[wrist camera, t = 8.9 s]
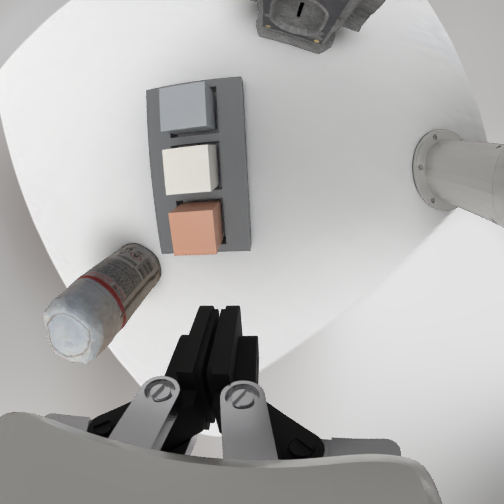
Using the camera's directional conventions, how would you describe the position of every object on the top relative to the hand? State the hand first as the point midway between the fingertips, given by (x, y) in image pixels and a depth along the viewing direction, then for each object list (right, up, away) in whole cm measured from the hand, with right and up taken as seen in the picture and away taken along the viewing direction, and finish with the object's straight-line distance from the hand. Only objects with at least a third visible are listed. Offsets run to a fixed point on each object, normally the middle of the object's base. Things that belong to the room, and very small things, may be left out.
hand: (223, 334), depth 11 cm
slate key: (-6, +21, +19) cm, 29 cm away
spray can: (-17, +1, +29) cm, 33 cm away
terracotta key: (-5, +8, +24) cm, 26 cm away
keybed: (-5, +15, +23) cm, 28 cm away
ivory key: (-6, +14, +22) cm, 26 cm away
